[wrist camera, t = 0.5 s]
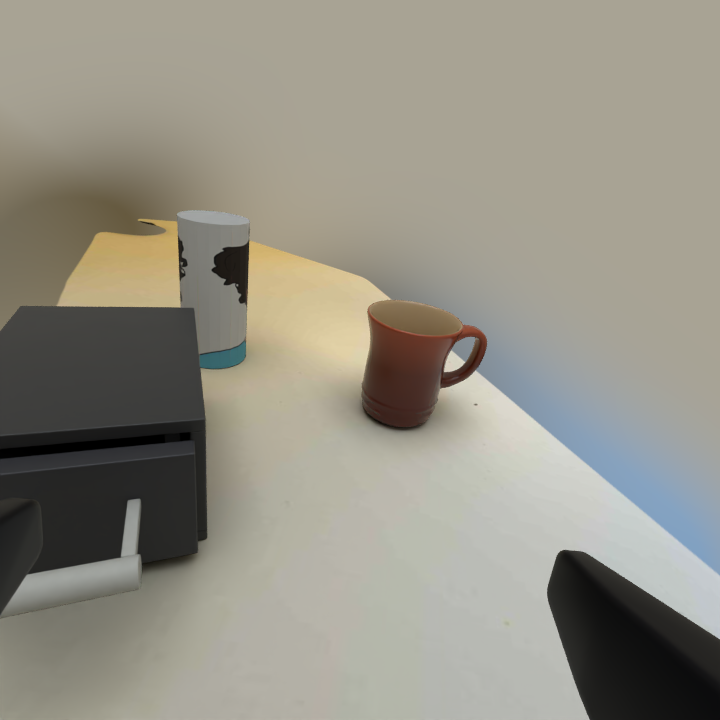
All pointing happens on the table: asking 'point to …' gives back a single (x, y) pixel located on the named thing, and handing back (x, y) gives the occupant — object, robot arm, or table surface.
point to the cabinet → (103, 379)
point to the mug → (412, 360)
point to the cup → (215, 282)
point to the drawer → (102, 513)
